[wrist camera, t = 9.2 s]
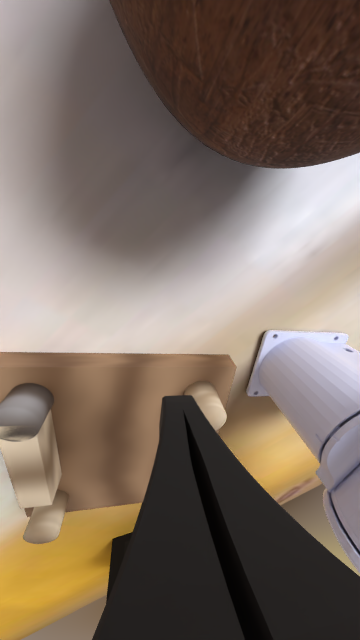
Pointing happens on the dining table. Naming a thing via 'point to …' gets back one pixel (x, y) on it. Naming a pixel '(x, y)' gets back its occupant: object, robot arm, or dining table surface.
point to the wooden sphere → (254, 74)
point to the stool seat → (110, 420)
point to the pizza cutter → (30, 444)
